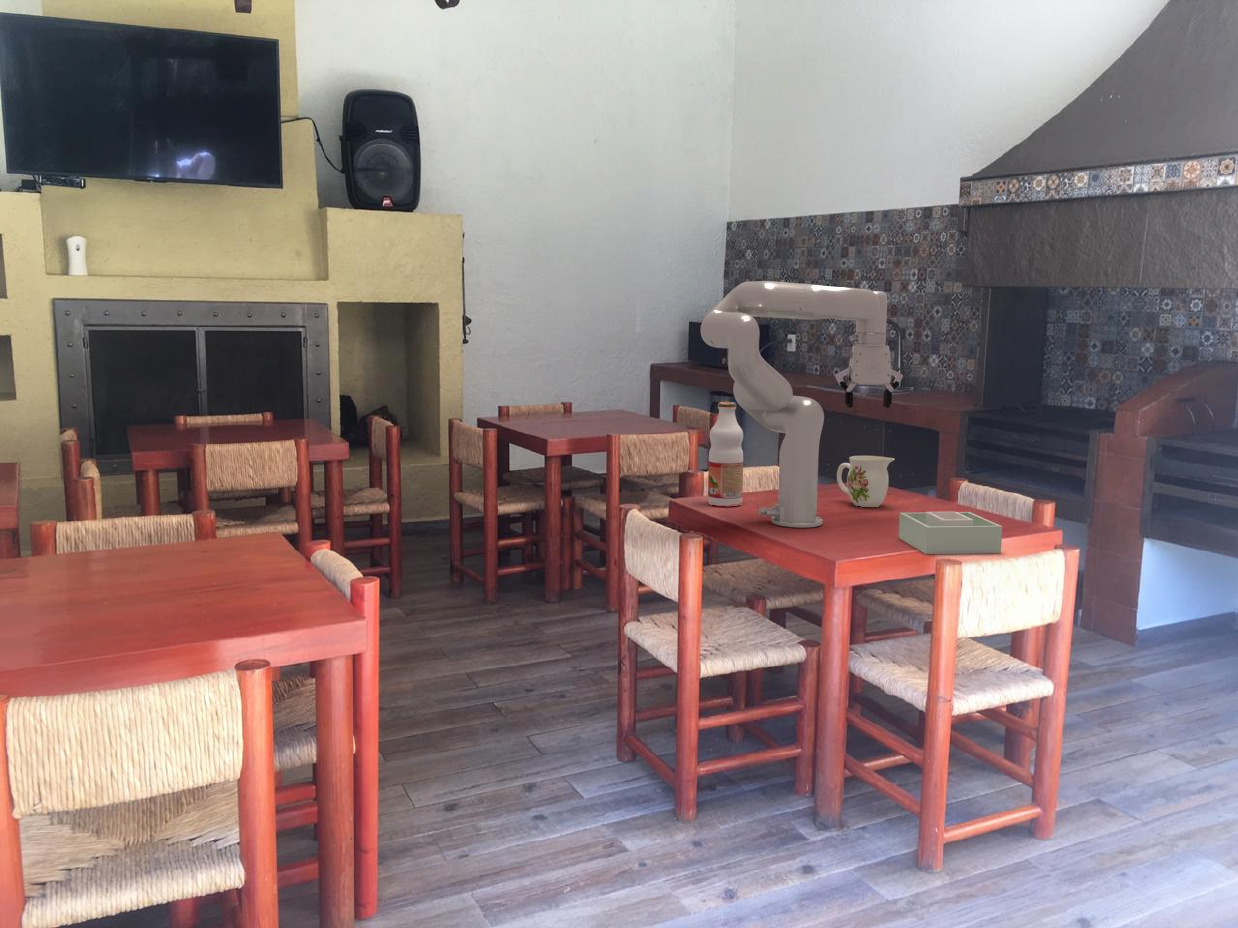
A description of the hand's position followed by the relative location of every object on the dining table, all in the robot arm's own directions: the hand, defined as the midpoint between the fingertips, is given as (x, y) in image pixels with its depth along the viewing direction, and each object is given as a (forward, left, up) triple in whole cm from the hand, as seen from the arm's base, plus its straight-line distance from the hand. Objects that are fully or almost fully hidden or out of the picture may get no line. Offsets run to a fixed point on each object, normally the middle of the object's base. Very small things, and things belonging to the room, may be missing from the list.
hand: (867, 407), depth 273 cm
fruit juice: (-33, +18, -28) cm, 47 cm away
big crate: (+8, -36, -28) cm, 47 cm away
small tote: (+8, -36, -27) cm, 46 cm away
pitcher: (+5, +15, -28) cm, 32 cm away
